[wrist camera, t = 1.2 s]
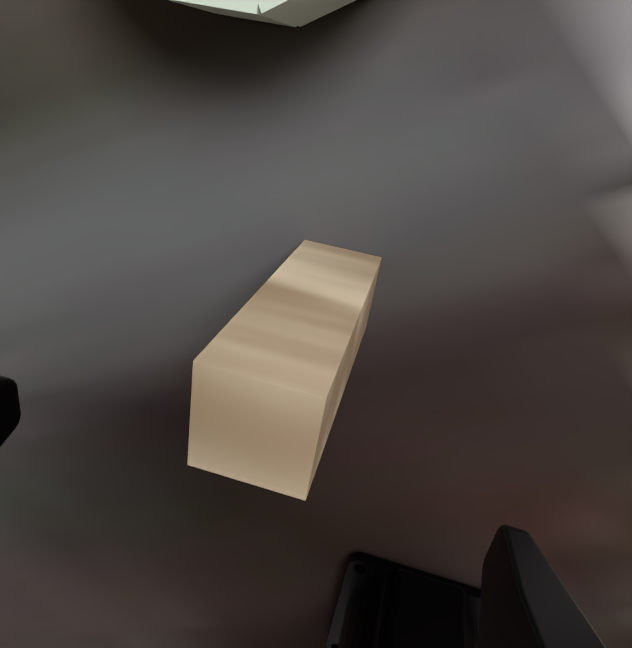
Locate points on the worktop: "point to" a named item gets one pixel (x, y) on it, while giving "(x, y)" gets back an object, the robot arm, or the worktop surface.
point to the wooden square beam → (282, 370)
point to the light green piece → (270, 9)
